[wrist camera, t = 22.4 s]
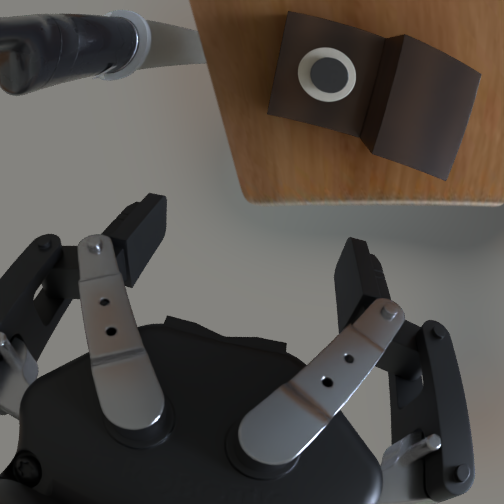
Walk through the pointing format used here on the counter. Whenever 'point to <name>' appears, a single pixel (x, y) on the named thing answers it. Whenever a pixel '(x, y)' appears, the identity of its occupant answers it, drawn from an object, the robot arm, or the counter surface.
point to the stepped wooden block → (381, 93)
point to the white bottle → (326, 74)
